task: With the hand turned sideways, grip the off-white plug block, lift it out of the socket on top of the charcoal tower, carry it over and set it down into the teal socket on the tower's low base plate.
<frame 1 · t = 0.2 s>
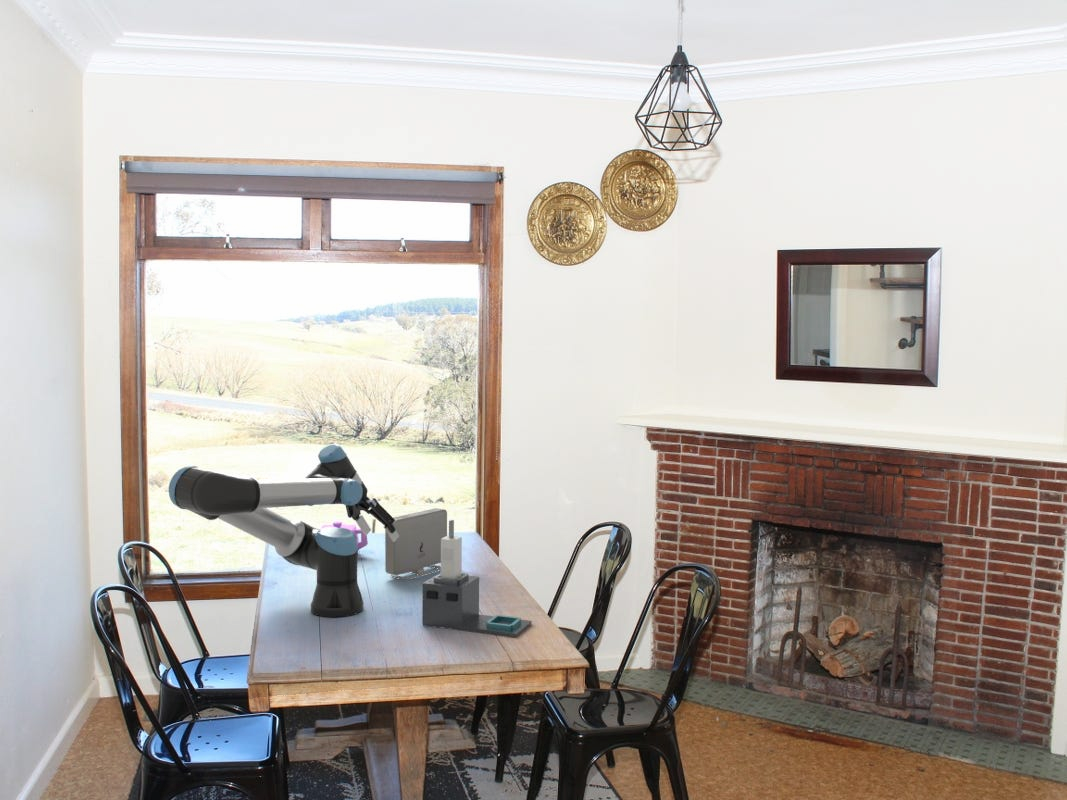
hand: (381, 535, 319), 15 cm above the table, tool tilted 35°, fingers open, 13 cm apart
plug: (451, 579, 279), point 12 cm above the table, touching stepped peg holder
teakettle: (336, 557, 353), on the table
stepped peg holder: (477, 624, 278), on the table
network device: (416, 573, 332), on the table
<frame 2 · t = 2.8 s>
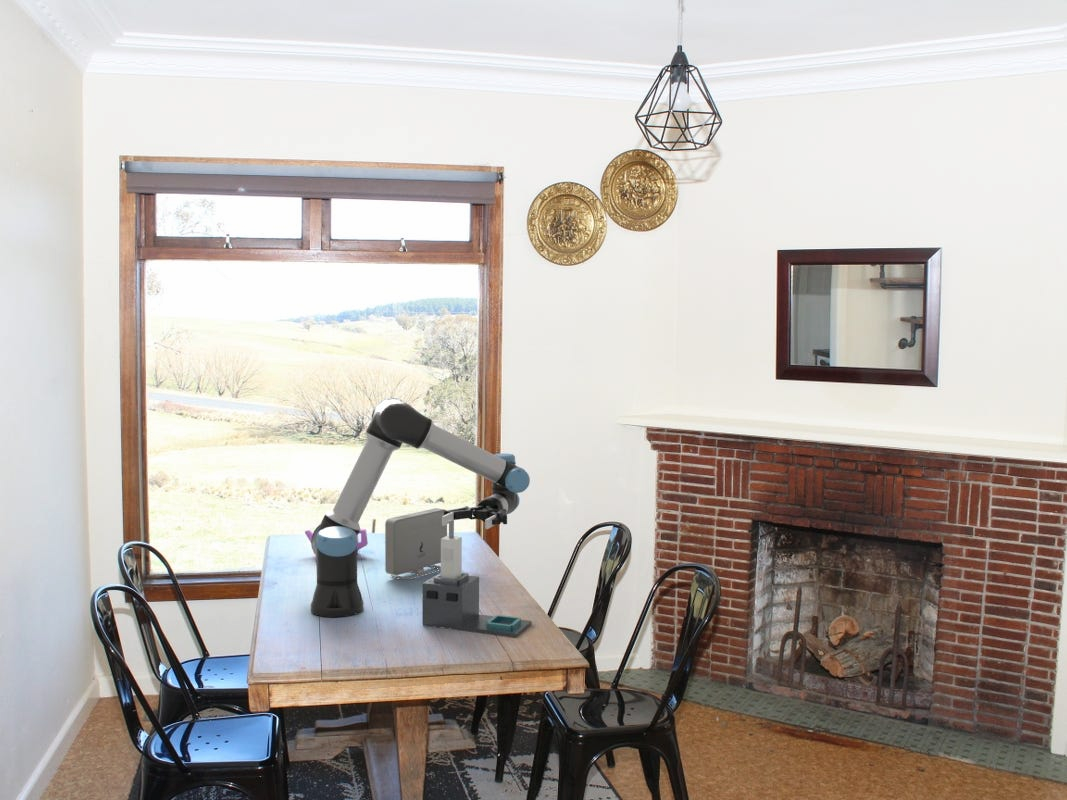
hand: (464, 522, 287), 26 cm above the table, tool horizontal, fingers open, 13 cm apart
nothing on the table moved.
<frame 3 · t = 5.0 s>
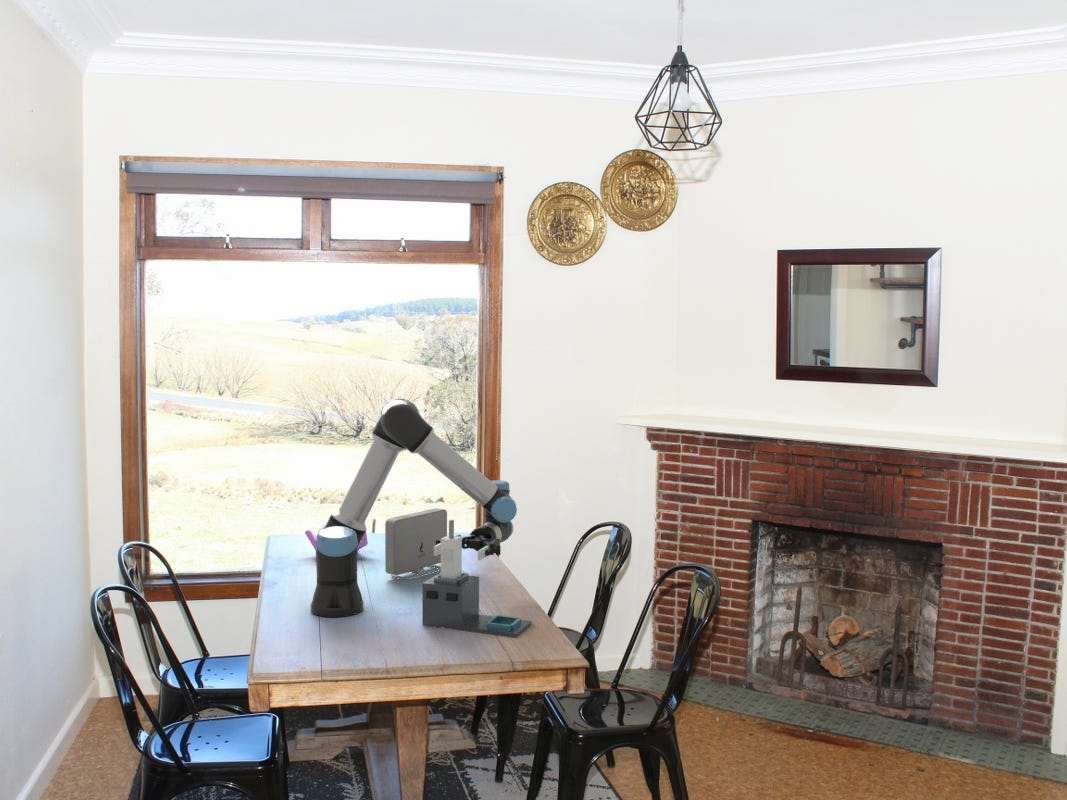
hand: (456, 553, 281), 19 cm above the table, tool horizontal, fingers open, 13 cm apart
nothing on the table moved.
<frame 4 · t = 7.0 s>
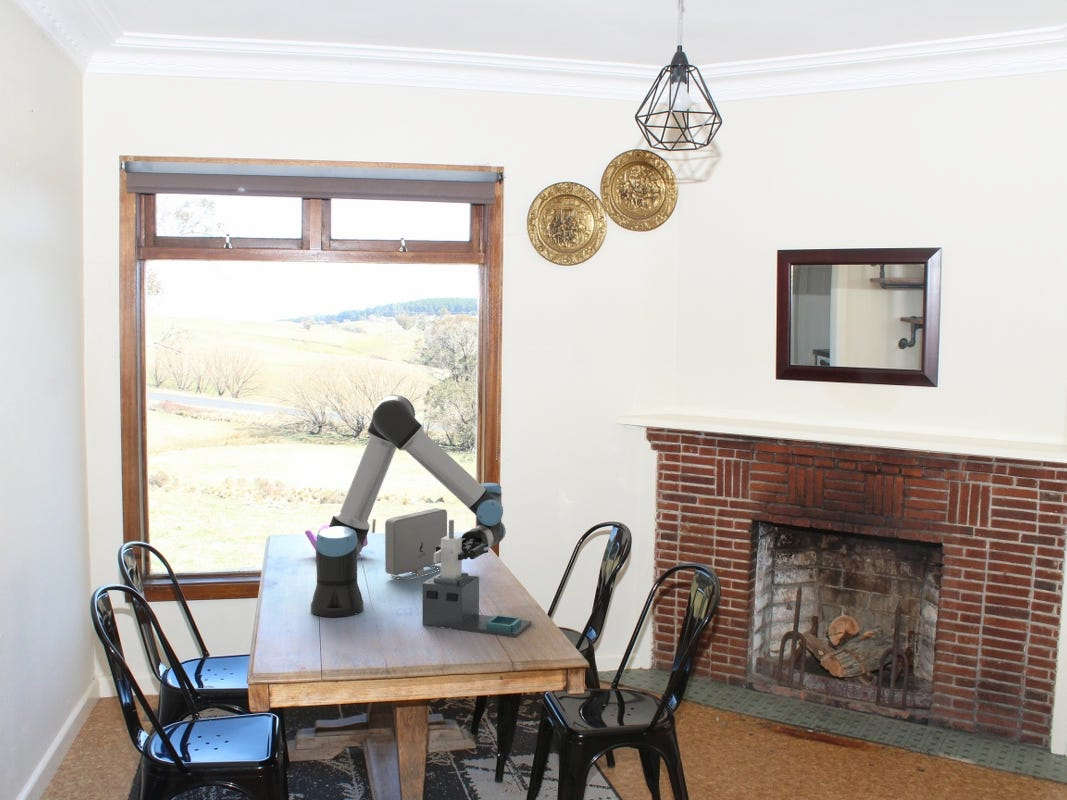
hand: (443, 559, 274), 19 cm above the table, tool horizontal, fingers closed on plug, 4 cm apart
plug: (451, 579, 279), point 12 cm above the table, touching gripper, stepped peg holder
everything else where it was.
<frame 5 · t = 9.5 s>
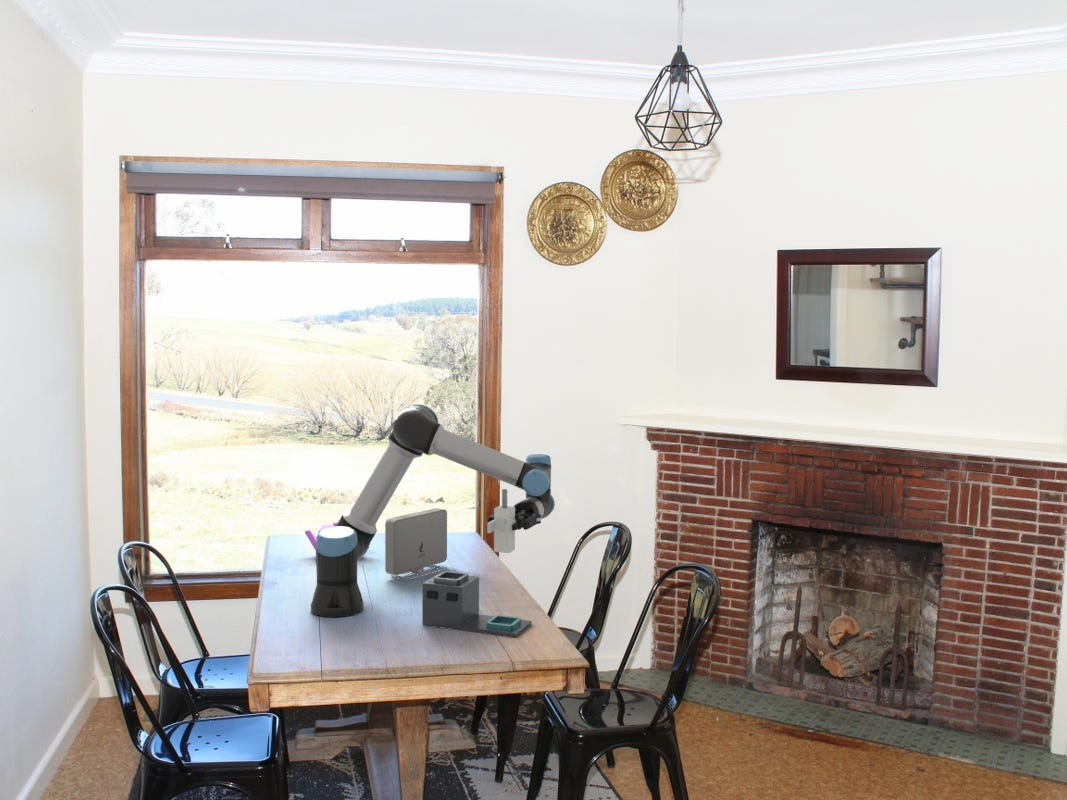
hand: (497, 528, 268), 29 cm above the table, tool horizontal, fingers closed on plug, 4 cm apart
plug: (504, 550, 273), point 22 cm above the table, touching gripper
everything else where it was.
when the fingers open (10 cm above the table, at t = 12.0 s): plug drops 2 cm, resting on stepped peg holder.
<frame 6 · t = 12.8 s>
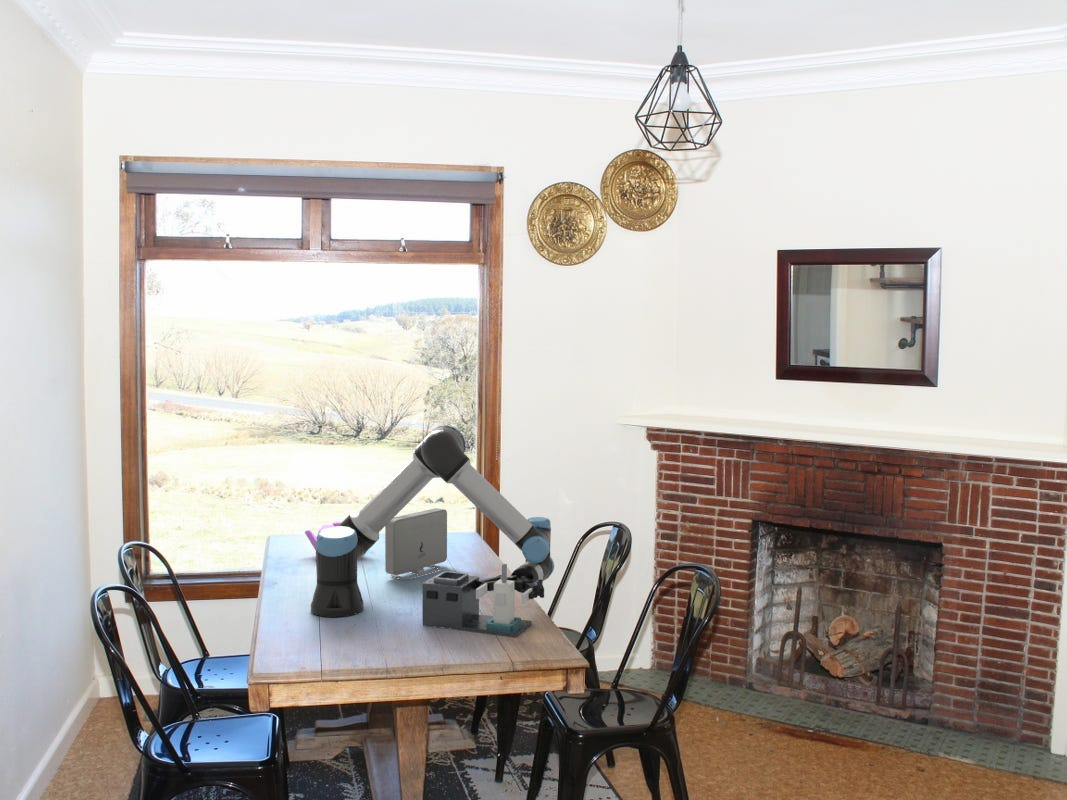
hand: (499, 596, 271), 10 cm above the table, tool horizontal, fingers open, 13 cm apart
plug: (503, 624, 275), point 1 cm above the table, touching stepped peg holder
everything else where it was.
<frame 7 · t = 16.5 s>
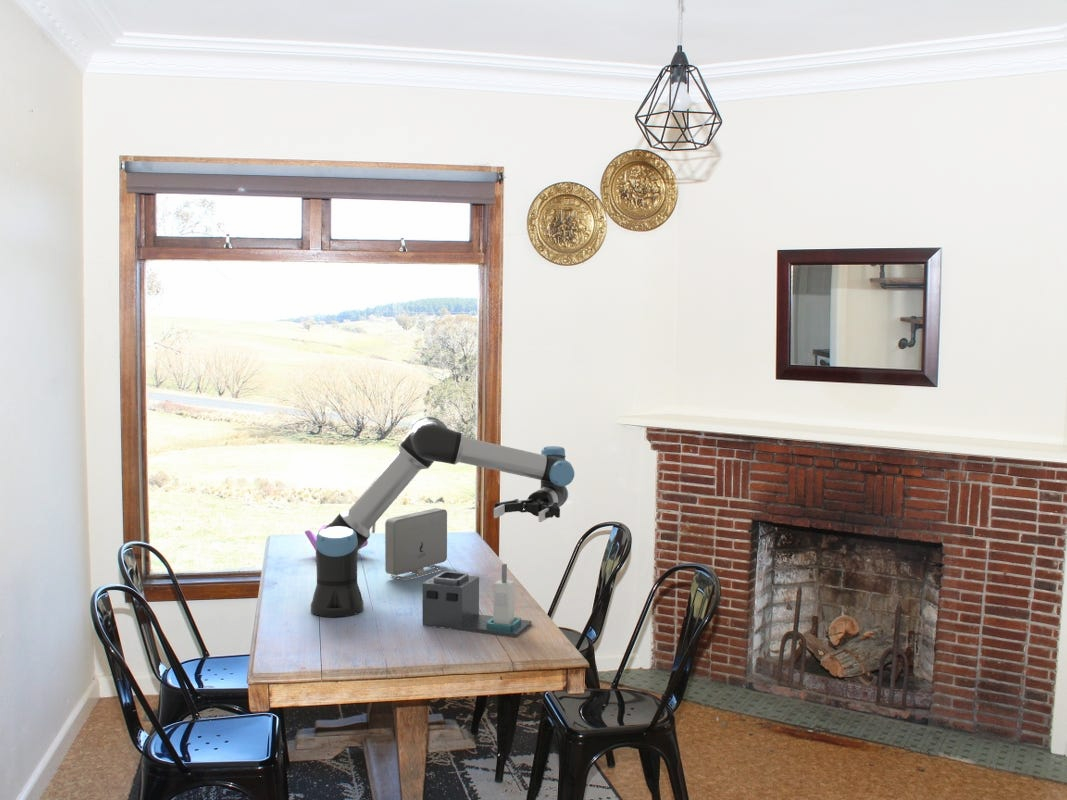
hand: (517, 515, 282), 30 cm above the table, tool horizontal, fingers open, 13 cm apart
nothing on the table moved.
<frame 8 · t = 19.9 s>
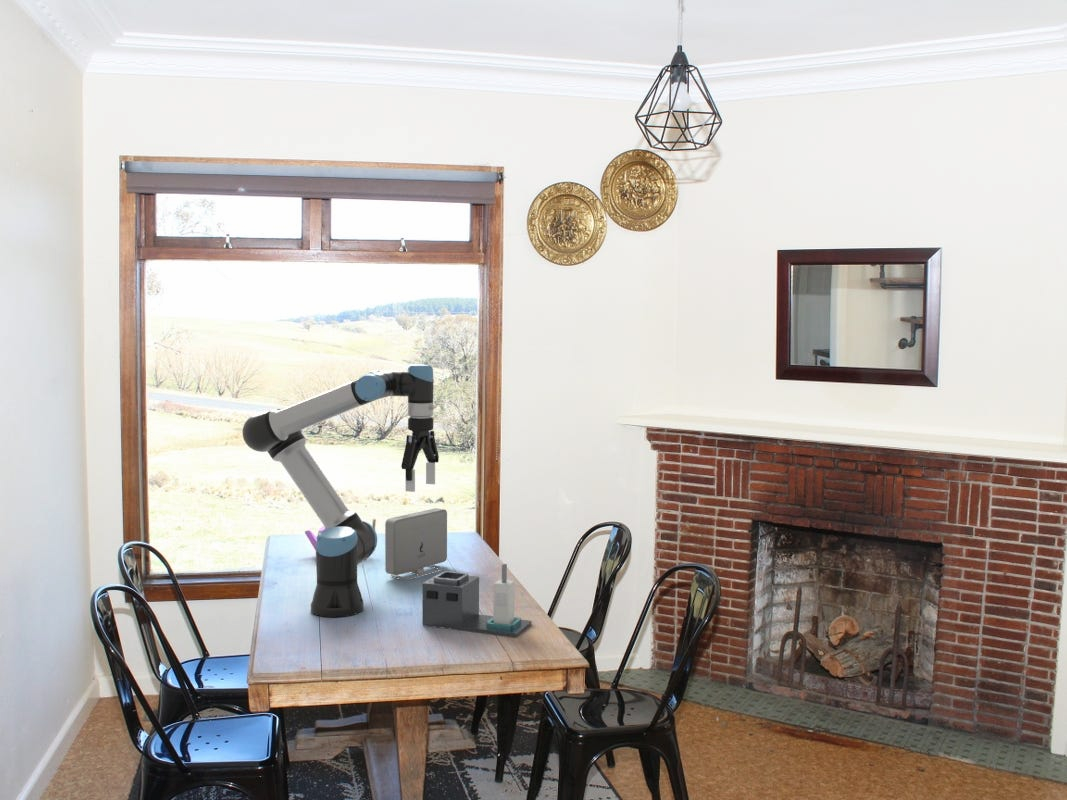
hand: (420, 487, 296), 35 cm above the table, tool pointing down, fingers open, 13 cm apart
nothing on the table moved.
at the end: plug 0.0 cm from the target spot on the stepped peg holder, point 1.0 cm above the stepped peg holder's base; plug tilted 0°; the gripper is holding nothing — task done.
